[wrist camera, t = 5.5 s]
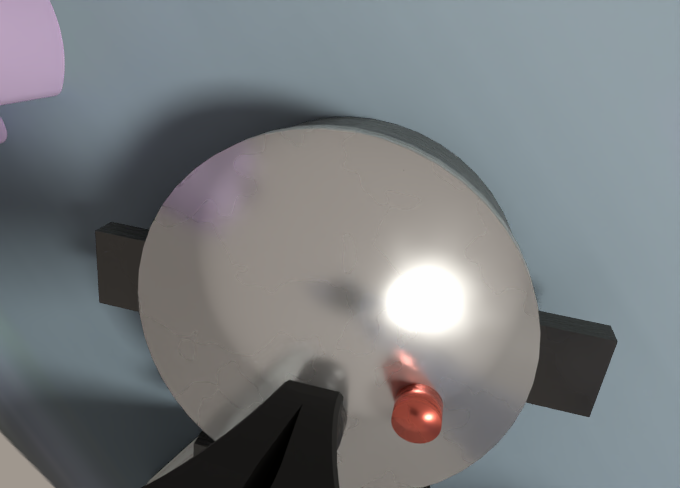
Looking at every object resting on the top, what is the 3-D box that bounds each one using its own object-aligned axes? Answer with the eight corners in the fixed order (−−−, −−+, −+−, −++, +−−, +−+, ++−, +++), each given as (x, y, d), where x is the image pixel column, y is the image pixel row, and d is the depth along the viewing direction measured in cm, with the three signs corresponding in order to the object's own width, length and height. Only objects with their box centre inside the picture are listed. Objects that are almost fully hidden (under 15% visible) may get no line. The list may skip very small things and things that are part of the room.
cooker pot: (535, 472, 24) (547, 560, 20) (147, 374, 27) (91, 434, 23) (641, 162, 18) (686, 200, 15) (141, 81, 21) (66, 94, 17)
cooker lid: (484, 519, 21) (485, 561, 19) (151, 429, 23) (126, 460, 21) (592, 166, 16) (606, 183, 14) (147, 92, 18) (114, 99, 16)
